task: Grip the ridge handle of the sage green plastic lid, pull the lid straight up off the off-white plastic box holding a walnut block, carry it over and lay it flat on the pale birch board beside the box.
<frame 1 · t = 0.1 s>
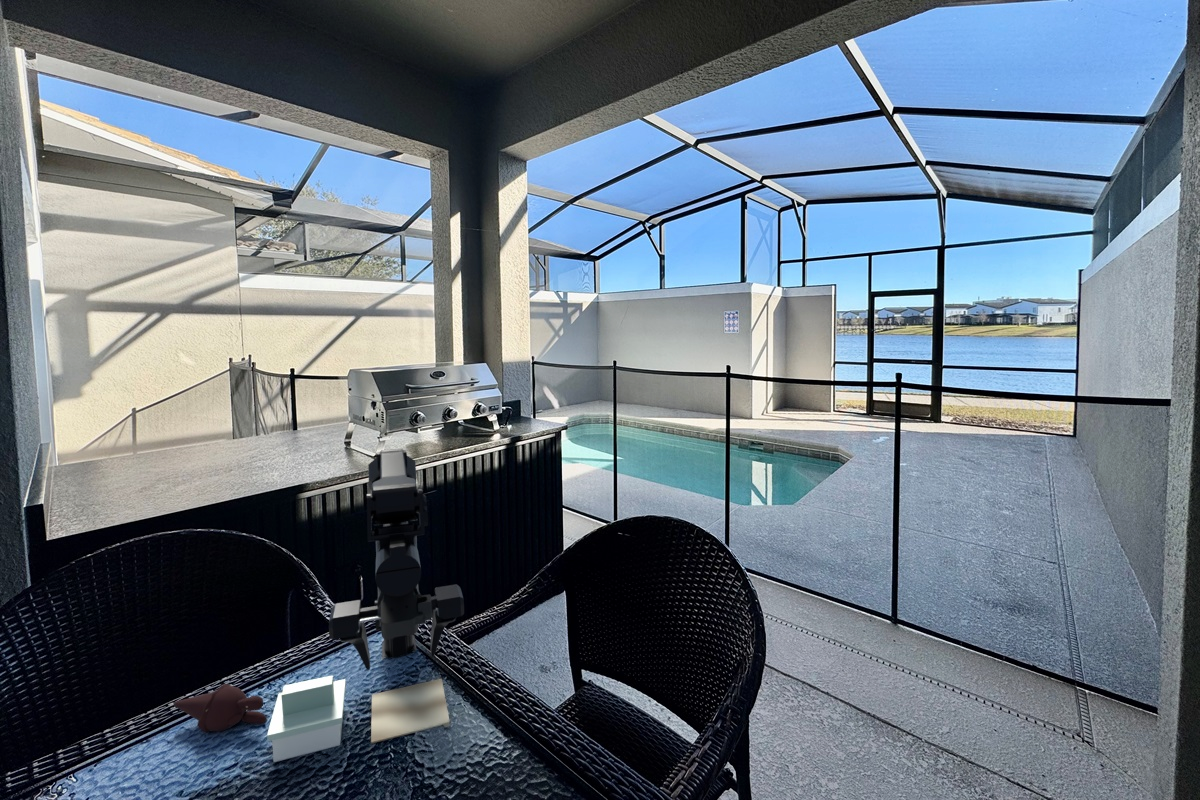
hand: (401, 661, 81), 15 cm above the table, tool pointing down, fingers open, 9 cm apart
board: (409, 711, 91), on the table
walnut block: (310, 732, 85), point 1 cm above the table, touching box
box: (311, 736, 85), on the table
lid: (309, 715, 85), point 4 cm above the table, touching box
brown gnome figurine: (221, 727, 87), on the table
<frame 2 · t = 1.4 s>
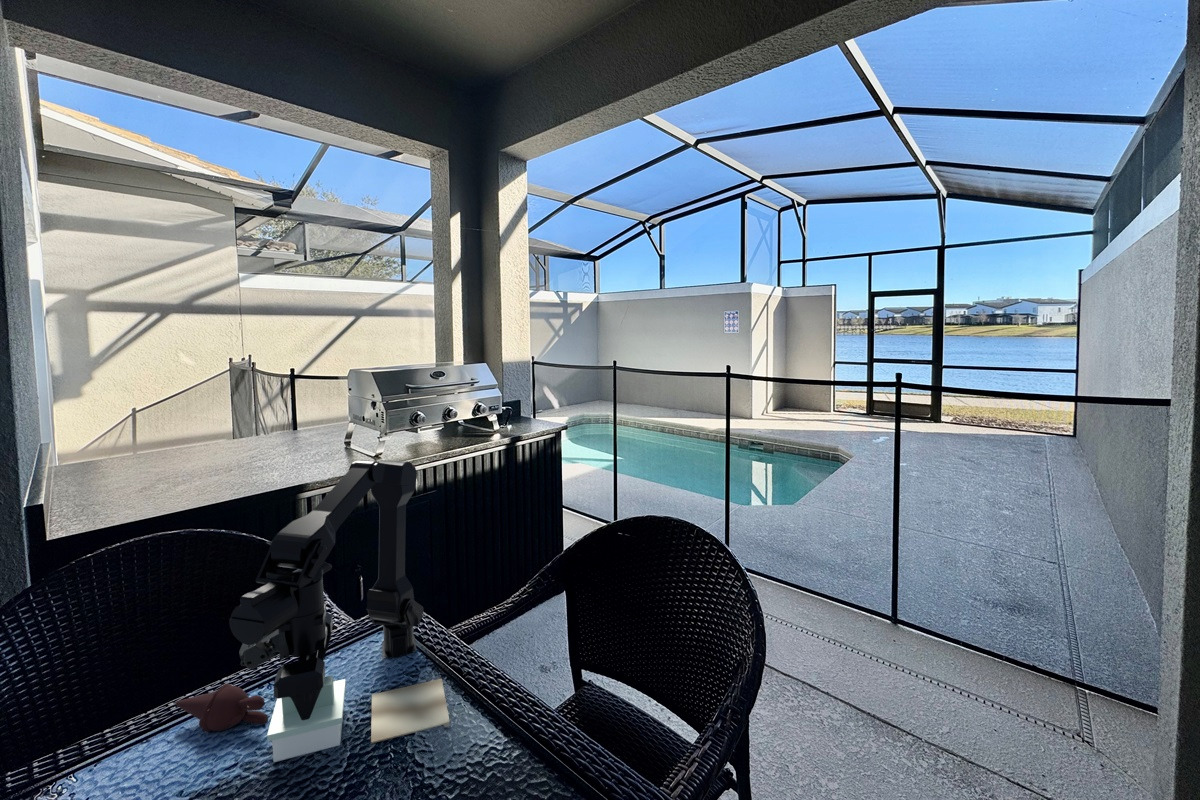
hand: (309, 699, 85), 6 cm above the table, tool pointing down, fingers open, 9 cm apart
nothing on the table moved.
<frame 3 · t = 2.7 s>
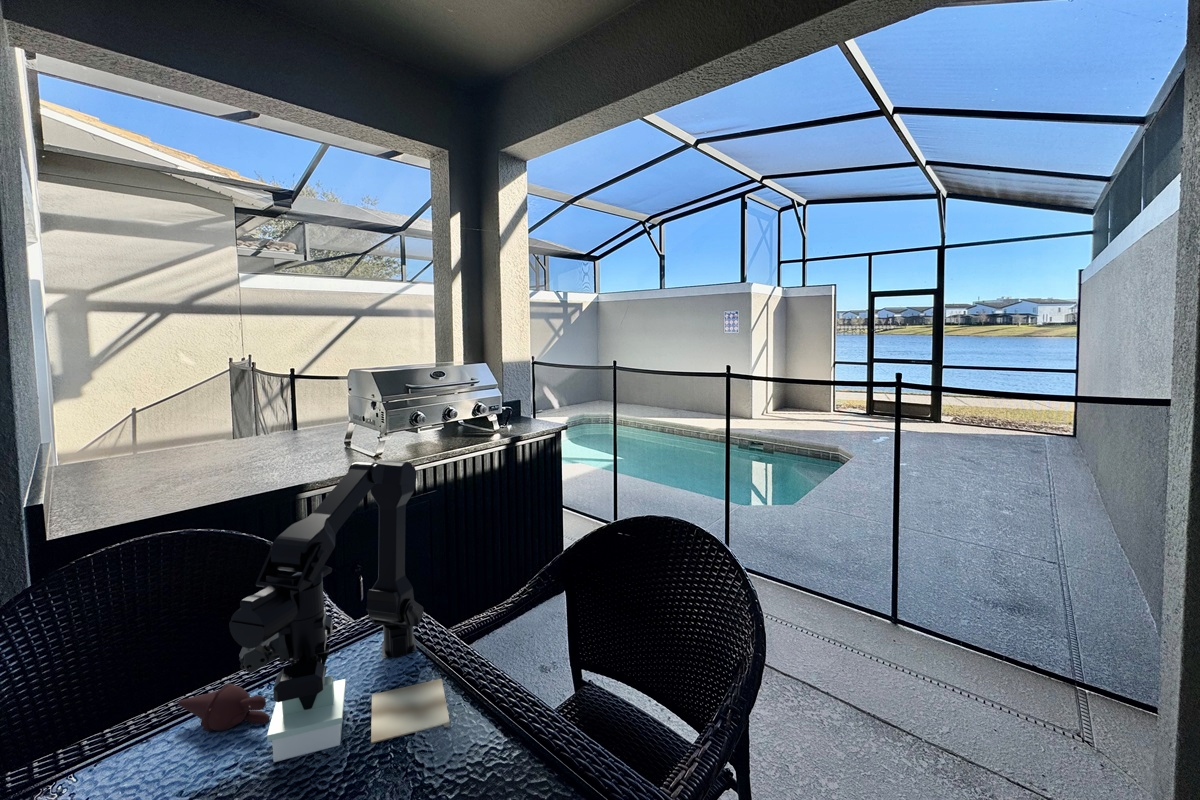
hand: (309, 703, 85), 6 cm above the table, tool pointing down, fingers closed on lid, 2 cm apart
lid: (309, 715, 85), point 4 cm above the table, touching box, gripper
everything else where it was.
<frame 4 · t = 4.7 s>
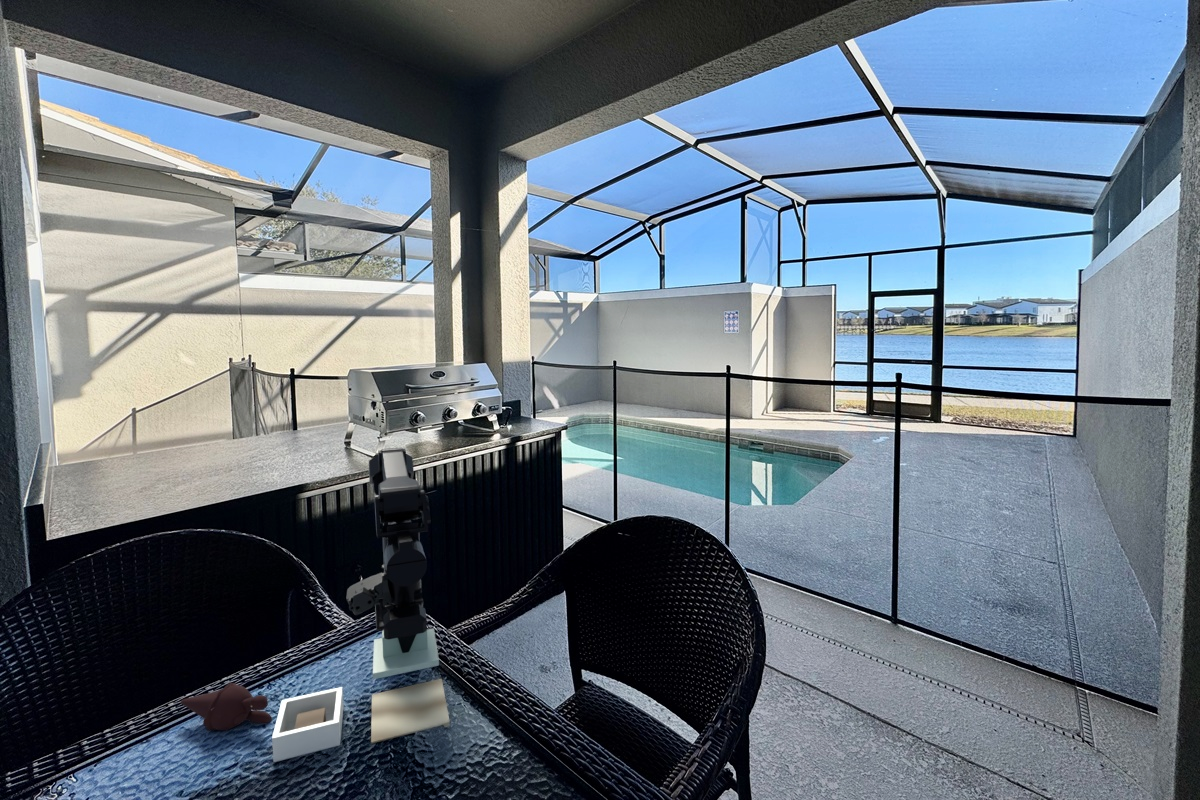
hand: (405, 647, 90), 12 cm above the table, tool pointing down, fingers closed on lid, 2 cm apart
lid: (405, 659, 90), point 10 cm above the table, touching gripper
everything else where it was.
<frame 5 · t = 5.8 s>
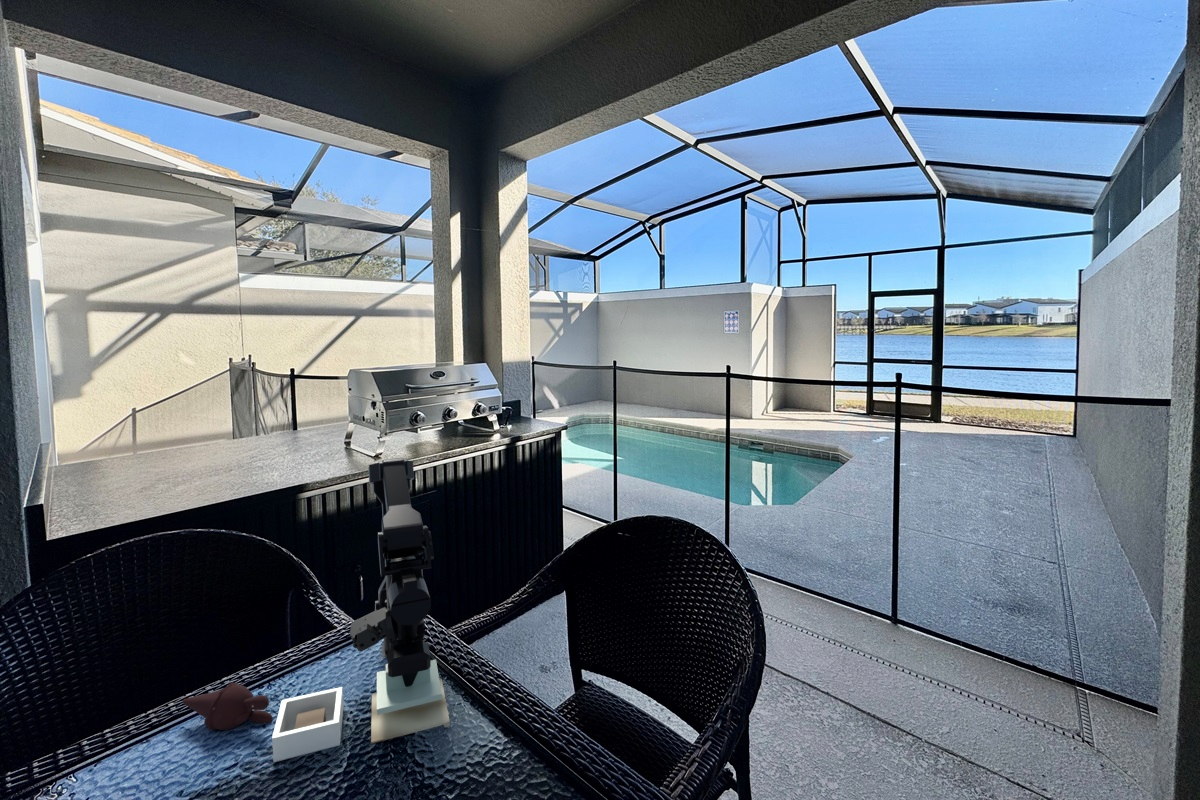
hand: (408, 681, 91), 6 cm above the table, tool pointing down, fingers closed on lid, 2 cm apart
lid: (408, 692, 91), point 4 cm above the table, touching gripper
everything else where it was.
when the fingers open (4 cm above the table, at t = 6.7 s): lid drops 2 cm, resting on board.
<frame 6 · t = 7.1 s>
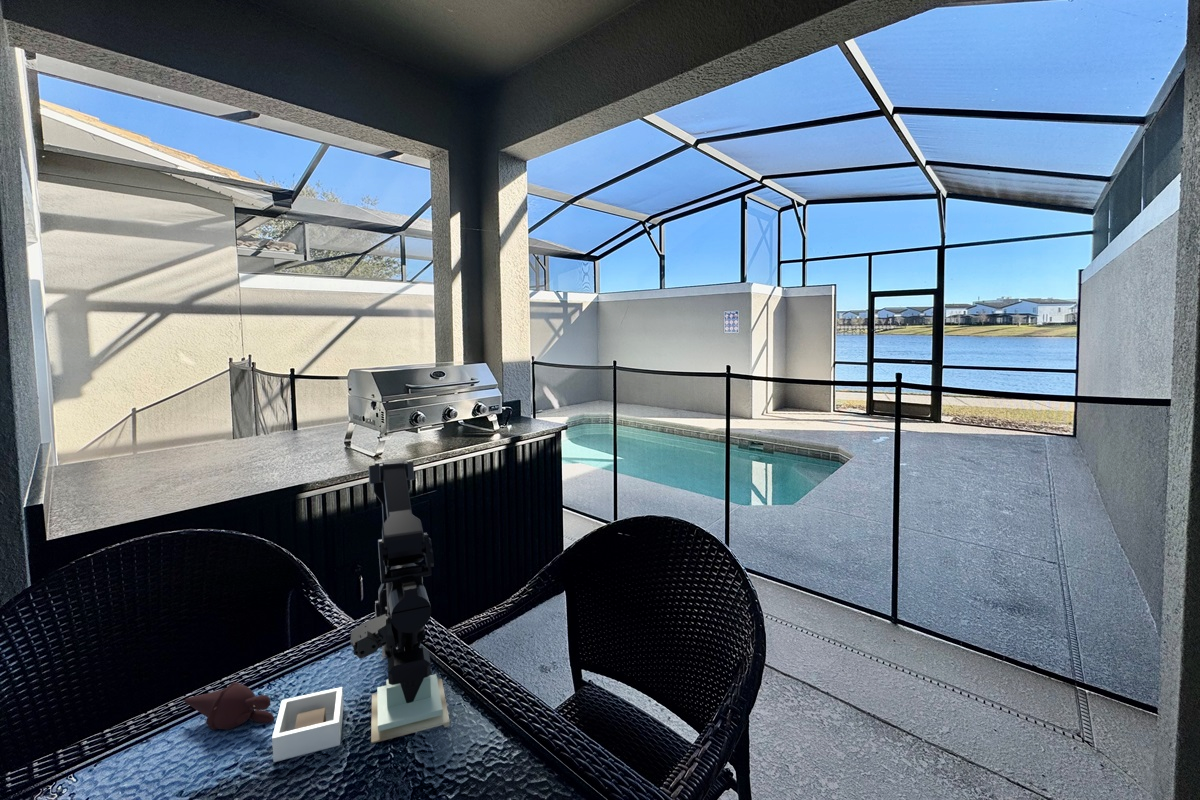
hand: (408, 687, 91), 4 cm above the table, tool pointing down, fingers open, 7 cm apart
lid: (409, 707, 91), point 1 cm above the table, touching board
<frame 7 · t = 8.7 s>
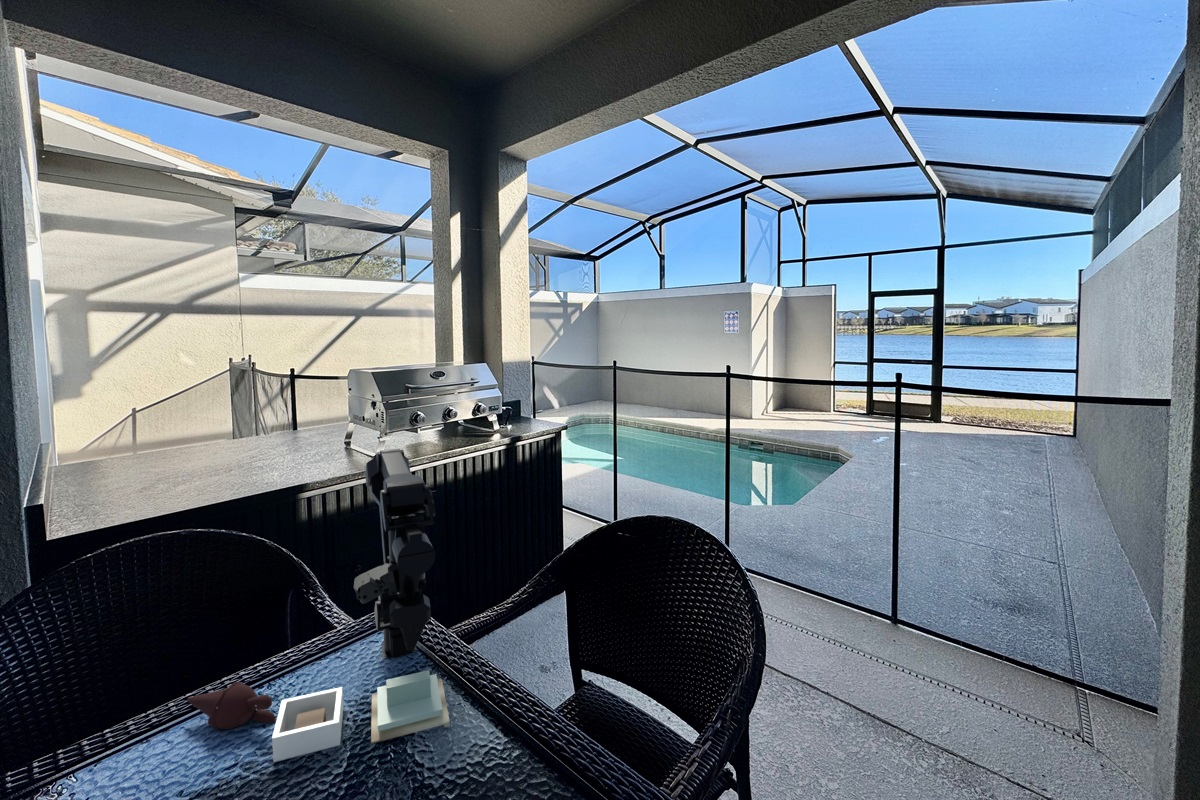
hand: (409, 634, 94), 12 cm above the table, tool pointing down, fingers open, 9 cm apart
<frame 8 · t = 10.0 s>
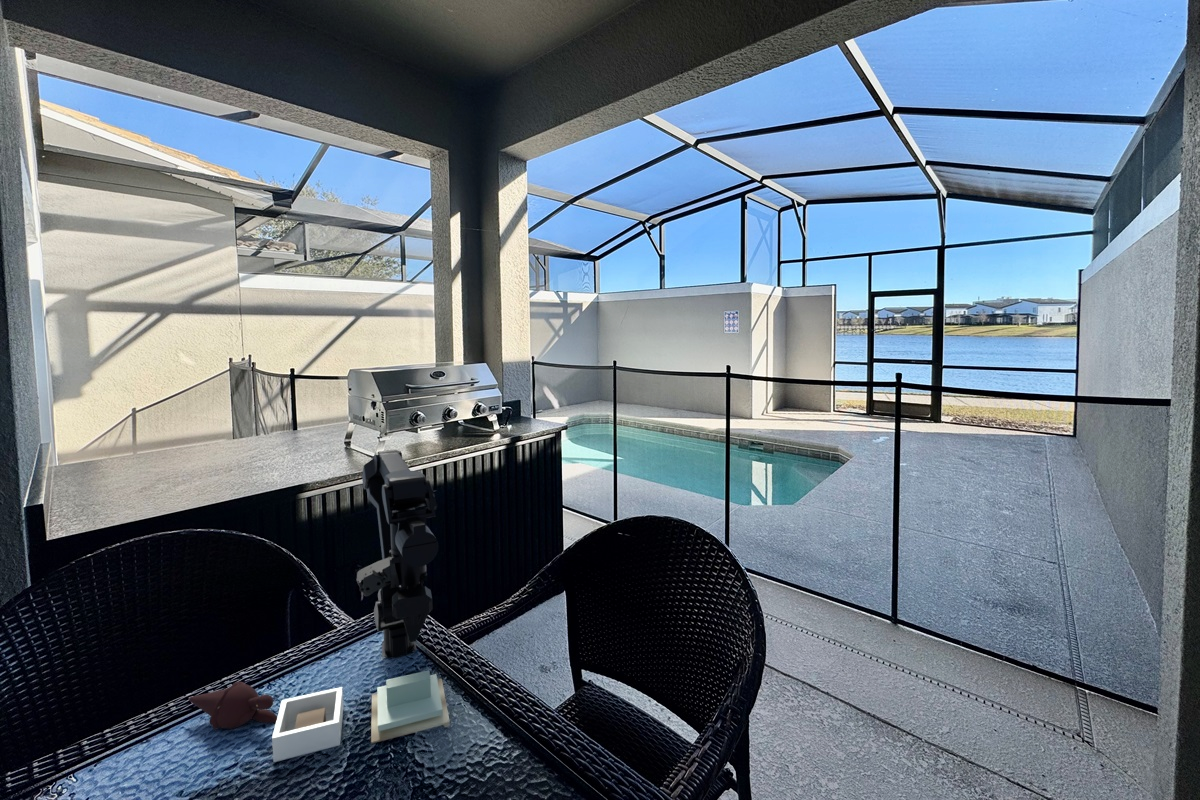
hand: (411, 627, 96), 12 cm above the table, tool pointing down, fingers open, 9 cm apart
at the end: lid 0.0 cm off-centre on the board, point 0.8 cm above the board's base; lid tilted 0°; the gripper is holding nothing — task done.
